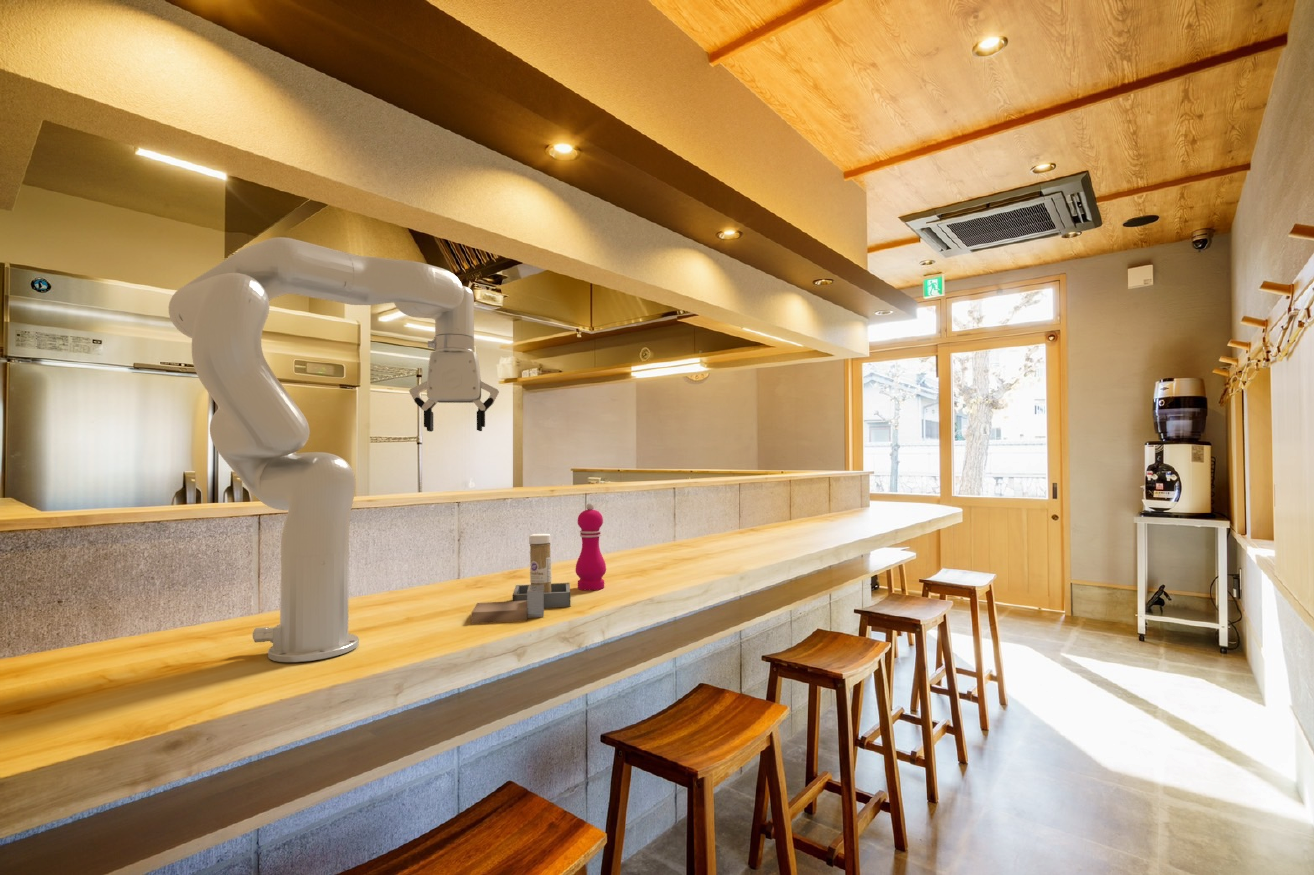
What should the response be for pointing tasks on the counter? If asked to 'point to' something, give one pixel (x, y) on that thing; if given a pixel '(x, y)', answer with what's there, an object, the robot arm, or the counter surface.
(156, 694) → the counter surface
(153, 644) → the counter surface
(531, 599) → the block
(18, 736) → the counter surface
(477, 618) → the board
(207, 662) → the counter surface
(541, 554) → the sprinkles bottle
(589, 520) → the pepper mill
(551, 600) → the tray
